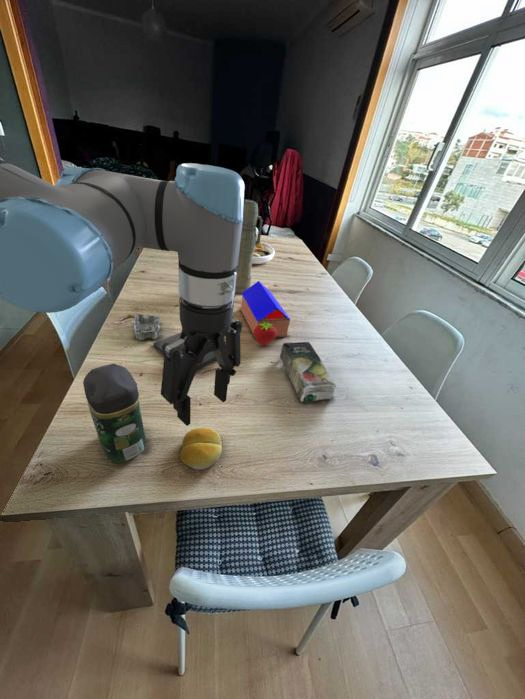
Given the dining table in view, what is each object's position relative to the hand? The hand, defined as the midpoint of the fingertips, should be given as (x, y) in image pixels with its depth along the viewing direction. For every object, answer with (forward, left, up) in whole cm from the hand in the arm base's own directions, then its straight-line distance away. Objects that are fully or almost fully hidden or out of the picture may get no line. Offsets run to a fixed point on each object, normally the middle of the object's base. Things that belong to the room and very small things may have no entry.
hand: (202, 408), depth 54 cm
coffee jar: (-12, -11, -13) cm, 21 cm away
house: (-27, +50, -13) cm, 58 cm away
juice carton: (+1, +37, -13) cm, 39 cm away
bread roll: (0, 0, -13) cm, 13 cm away
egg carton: (-45, +15, -13) cm, 49 cm away
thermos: (-51, +62, -13) cm, 81 cm away
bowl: (-79, +95, -13) cm, 124 cm away
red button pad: (-29, +19, -13) cm, 37 cm away
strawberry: (-17, +39, -13) cm, 45 cm away
